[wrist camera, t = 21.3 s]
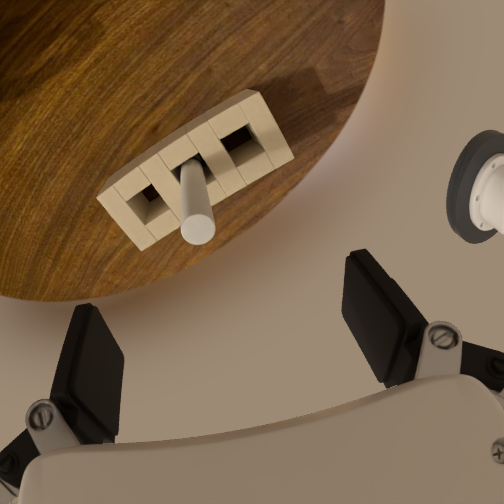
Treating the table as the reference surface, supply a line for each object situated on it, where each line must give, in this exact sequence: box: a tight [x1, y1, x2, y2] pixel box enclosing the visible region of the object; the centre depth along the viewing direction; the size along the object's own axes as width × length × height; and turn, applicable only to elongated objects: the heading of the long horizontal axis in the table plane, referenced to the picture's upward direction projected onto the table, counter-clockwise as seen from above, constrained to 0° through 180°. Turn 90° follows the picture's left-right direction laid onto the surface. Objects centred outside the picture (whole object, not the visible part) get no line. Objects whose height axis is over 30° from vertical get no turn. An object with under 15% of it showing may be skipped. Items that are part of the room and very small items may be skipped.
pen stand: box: [96, 89, 294, 251], centre depth 26 cm, size 15×6×5 cm, turn 118°
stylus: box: [180, 154, 215, 245], centre depth 22 cm, size 2×2×14 cm
